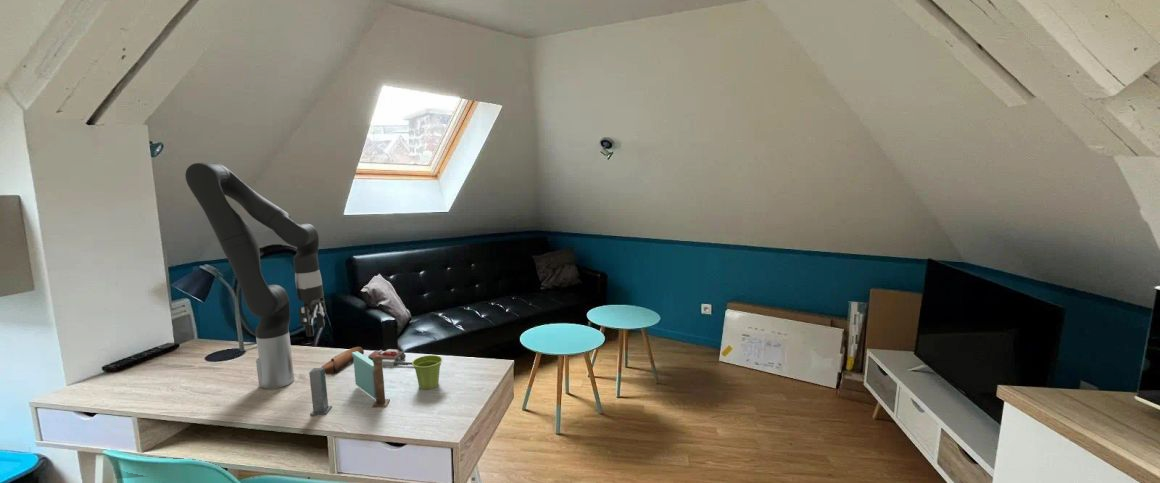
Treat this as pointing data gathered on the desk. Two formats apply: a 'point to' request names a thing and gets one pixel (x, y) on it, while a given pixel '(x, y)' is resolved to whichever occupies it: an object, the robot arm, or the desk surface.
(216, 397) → the desk surface
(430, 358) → the plant pot
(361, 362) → the gate
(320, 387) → the latch post
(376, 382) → the hinge post
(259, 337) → the robot arm
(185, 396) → the desk surface
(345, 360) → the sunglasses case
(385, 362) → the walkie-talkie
